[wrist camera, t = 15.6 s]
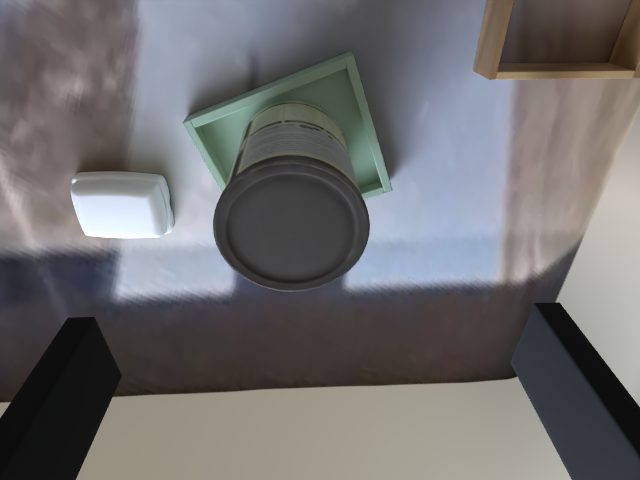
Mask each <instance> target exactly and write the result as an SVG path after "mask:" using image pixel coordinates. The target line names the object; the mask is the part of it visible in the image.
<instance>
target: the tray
mask: <svg viewBox="0 0 640 480" xmlns="http://www.w3.org/2000/svg"><path fill="white" fill-rule="evenodd" d="M284 100H301V101H306V102H309V103H312V104H315V105H317V106H319V107H321V108H322V109H324V110H325V111H327V112H328V113H329V114H330V115H331V116H332V117H333V118H334V119H335V120H336V121H337V123H338V124H339V126H340V128H341V129H342V131H343V134H344V136H345V141H346V146H347V150H348V153H349V156H350V160H351V163H352V167H353V170H354V173H355V177H356V180H357V183H358V187H359V190H360V193H361V195H362V197H363V200H366V199H369V198H372V197H375V196H378V195H381V194H384V192H385V193H387V192H390V191H392V187H391V183H390V180H389V176H388V173H387V170H386V166H385V163H384V159H383V156H382V152H381V149H380V145H379V142H378V138H377V135H376V131H375V128H374V124H373V121H372V118H371V114H370V111H369V107H368V104H367V100H366V97H365V93H364V90H363V86H362V83H361V79H360V76H359V73H358V69H357V66H356V62H355V59H354V55H353V54H352V52H351V51H348V52H346V53H343V54H341V55H338V56H336V57H333V58H331V59H328V60H326V61H323V62H321V63H318V64H316V65H313V66H311V67H308V68H306V69H303V70H301V71H298V72H296V73H293V74H291V75H288V76H286V77H283V78H281V79H278V80H276V81H274V82H271V83H269V84H266V85H264V86H261V87H259V88H256V89H254V90H251V91H249V92H246V93H244V94H241V95H239V96H236V97H234V98H231V99H229V100H226V101H224V102H221V103H219V104H216V105H214V106H211V107H209V108H206V109H204V110H201V111H199V112H196V113H194V114H191V115H189V116H187V117H186V119H185V120H184V121H183V122H182V124H183V125H184V127H185V129H186V131H187V133H188V134H189V136H190V138H191V140H192V141H193V143H194V145H195V147H196V148H197V150H198V152H199V154H200V155H201V157H202V159H203V161H204V162H205V164H206V166H207V168H208V169H209V171H210V173H211V175H212V177H213V178H214V180H215V182H216V184H217V185H218V187H219V189H220V191H221V192H223V191H224V189H225V187H226V184H227V181H228V178H229V175H230V172H231V169H232V166H233V163H234V160H235V158H236V155H237V152H238V149H239V146H240V141H241V137H242V133H243V131H244V129H245V127H246V125H247V123H248V122H249V120H250V119H251V118H252V117H253V116H254V115H255V114H256V113H257V112H258V111H260V110H261V109H262V108H264V107H266V106H268V105H270V104H272V103H275V102H279V101H284Z"/></svg>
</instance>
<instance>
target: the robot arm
mask: <svg viewBox="0 0 640 480" xmlns="http://www.w3.org/2000/svg"><path fill="white" fill-rule="evenodd" d="M510 363H511V365H512V367H513V368H514V370H515V372H516V374H517V376H518V378H519V380H520V382H521V384H522V386H523V388H524V389H525V391H526V393H527V395H528V397H529V399H530V401H531V403H532V405H533V407H534V408H535V410H536V412H537V414H538V416H539V418H540V420H541V422H542V424H543V425H544V428H545V429H546V431H547V433H548V435H549V437H550V439H551V440H552V443H553V445H554V447H555V448H556V450H557V452H558V454H559V456H560V458H561V460H562V462H563V464H564V465H565V467H566V469H567V471H568V473H569V475H570V477H571V479H572V480H640V407H639V406H638V404H637V403H636V402H635V400H634V399H633V398H632V397H631V395H630V394H629V393H628V391H627V390H626V389H625V387H624V386H623V385H622V383H621V382H620V381H619V380H618V378H617V377H616V376H615V374H614V373H613V372H612V371H611V369H610V368H609V367H608V365H607V364H606V363H605V361H604V360H603V359H602V358H601V356H600V355H599V354H598V352H597V351H596V350H595V348H594V347H593V346H592V344H591V343H590V342H589V341H588V339H587V338H586V337H585V335H584V334H583V333H582V331H581V330H580V329H579V327H578V326H577V325H576V323H575V322H574V321H573V320H572V318H571V317H570V316H569V314H568V313H567V312H566V310H565V309H564V308H563V307H562V305H561V304H560V303H534V306H533V308H532V311H531V313H530V315H529V318H528V320H527V323H526V325H525V328H524V330H523V333H522V335H521V337H520V340H519V342H518V345H517V347H516V350H515V352H514V355H513V357H512V360H511V362H510ZM121 377H122V375H121V373H120V371H119V369H118V367H117V364H116V362H115V360H114V358H113V356H112V354H111V352H110V349H109V347H108V345H107V343H106V341H105V339H104V337H103V334H102V332H101V330H100V328H99V326H98V324H97V322H96V319H95V317H79V318H68V319H67V320H66V322H65V323H64V324H63V326H62V327H61V329H60V330H59V332H58V333H57V335H56V336H55V338H54V339H53V341H52V342H51V344H50V345H49V347H48V348H47V350H46V351H45V353H44V354H43V356H42V357H41V359H40V360H39V362H38V363H37V365H36V366H35V368H34V369H33V371H32V372H31V373H30V375H29V376H28V378H27V379H26V381H25V382H24V384H23V385H22V387H21V388H20V390H19V391H18V393H17V394H16V396H15V397H14V399H13V400H12V402H11V403H10V405H9V406H8V408H7V409H6V411H5V412H4V414H3V415H2V417H1V418H0V480H76V478H77V476H78V473H79V471H80V469H81V467H82V464H83V462H84V460H85V457H86V455H87V453H88V451H89V449H90V446H91V444H92V442H93V440H94V437H95V435H96V433H97V431H98V428H99V426H100V423H101V421H102V419H103V417H104V415H105V413H106V410H107V408H108V406H109V404H110V401H111V399H112V397H113V395H114V392H115V390H116V388H117V386H118V383H119V381H120V379H121Z"/></svg>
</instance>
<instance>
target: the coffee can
mask: <svg viewBox="0 0 640 480" xmlns="http://www.w3.org/2000/svg"><path fill="white" fill-rule="evenodd" d="M369 230H370V222H369V215H368V211H367V207H366V204H365V202H364V200H363V197H362V195H361V193H360V190H359V187H358V183H357V180H356V177H355V173H354V170H353V167H352V163H351V160H350V156H349V153H348V150H347V146H346V141H345V136H344V134H343V131H342V129H341V128H340V126H339V124H338V123H337V121H336V120H335V119H334V118H333V117H332V116H331V115H330V114H329V113H328V112H327V111H325V110H324V109H322V108H321V107H319V106H317V105H315V104H312V103H309V102H306V101H301V100H284V101H279V102H275V103H272V104H270V105H268V106H266V107H264V108H262V109H261V110H260V111H258V112H257V113H256V114H255V115H254V116H253V117H252V118H251V119H250V120H249V122H248V123H247V125H246V127H245V129H244V131H243V133H242V137H241V141H240V146H239V149H238V152H237V155H236V158H235V160H234V163H233V166H232V169H231V172H230V175H229V178H228V181H227V184H226V187H225V189H224V191H223V192H222V194H221V196H220V199H219V201H218V203H217V206H216V209H215V214H214V220H213V231H214V237H215V241H216V245H217V247H218V249H219V251H220V253H221V255H222V256H223V258H224V259H225V260H226V262H227V263H228V264H229V265H230V266H231V268H232V269H233V270H235V271H236V272H237V273H238V274H239V275H241V276H242V277H243V278H245V279H247V280H248V281H250V282H252V283H255V284H257V285H259V286H262V287H266V288H269V289H273V290H278V291H287V292H296V291H306V290H311V289H315V288H319V287H322V286H324V285H327V284H329V283H332V282H333V281H335V280H337V279H339V278H340V277H342V276H343V275H344V274H346V273H347V272H348V271H349V270H350V269H351V268H352V267H353V266H354V265H355V264H356V263H357V261H358V260H359V259H360V257H361V255H362V254H363V252H364V249H365V247H366V244H367V241H368V237H369Z"/></svg>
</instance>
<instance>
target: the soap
mask: <svg viewBox="0 0 640 480" xmlns="http://www.w3.org/2000/svg"><path fill="white" fill-rule="evenodd" d="M70 190H71V196H72V200H73V204H74V208H75V211H76V214H77V217H78V220H79V222H80V224H81V227H82V229H83V231H84V233H85V235H87V236H96V237H109V238H153V237H162V236H164V235H165V234H166V233H170V232H171V230H172V228H173V226H174V218H173V210H171V208H170V203H169V199H170V194H169V189H168V186H167V183H166V180H165V178H164V177H163V176H161V175H157V174H149V173H139V172H122V171H97V172H80V173H77V174H76V175H75V176H74V177H73V178H72V186H71V188H70Z"/></svg>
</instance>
